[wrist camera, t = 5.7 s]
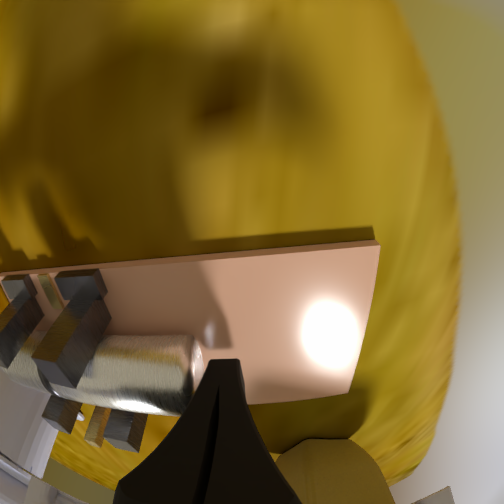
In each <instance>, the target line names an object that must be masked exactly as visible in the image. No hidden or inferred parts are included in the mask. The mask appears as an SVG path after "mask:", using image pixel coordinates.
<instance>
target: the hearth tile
mask: <svg viewBox="0 0 504 504" xmlns="http://www.w3.org/2000/svg"><path fill="white" fill-rule="evenodd" d="M379 253H380V244H379V243H378V242H377V241H376V240H365V241H353V242H341V243H329V244H318V245H306V246H294V247H283V248H271V249H259V250H248V251H236V252H225V253H213V254H202V255H191V256H179V257H168V258H157V259H145V260H134V261H123V262H112V263H100V264H89V265H78V266H67V267H56V268H45V269H34V270H23V271H12V272H2V273H1V274H0V284H1V286H2V288H3V290H4V292H5V294H6V296H7V298H8V300H9V302H10V303H11V301H12V300H13V299H9V297H8V295H7V293H6V291H5V289H4V286H3V284H2V282H1V280H2V279H3V278H4V277H5V276H7V275H17V274H29V275H30V277H31V280H32V282H33V284H34V286H35V288H36V290H37V292H38V294H37V295H36V296H35V298H36V300H37V302H38V304H39V306H40V307H41V309H42V311H43V313H44V315H45V316H44V317H43V318H42V320H41V321H40V322H39V324H38V325H37V326H36V328H35V329H34V330H39V331H48V330H49V329H50V328H51V326H52V325H53V323H54V322H55V320H56V319H57V318H58V316H59V315H60V314H61V312H62V311H63V309H64V308H65V307H66V305H67V304H68V303H69V301H70V300H64V299H63V297H62V295H61V293H60V291H59V289H58V286H57V284H56V282H55V280H54V277H55V276H56V275H57V274H58V273H59V272H60V271H68V270H81V269H94V268H99V270H100V273H101V275H102V278H103V280H104V283H105V285H106V288H107V290H108V293H107V294H106V296H105V297H104V299H103V300H104V302H105V304H106V306H107V309H108V311H109V313H110V315H111V317H112V319H111V321H110V322H109V324H108V326H107V328H106V330H105V332H104V333H103V335H189V334H191V335H193V336H194V337H195V339H196V340H197V342H198V345H199V347H200V350H201V354H202V359H203V365H204V372H205V370H206V367H207V365H208V362H209V360H211V359H233V358H237V359H239V360H240V363H241V368H242V373H243V378H244V382H245V394H246V401H247V404H264V403H278V402H288V401H298V400H306V399H313V398H320V397H327V396H333V395H339V394H344V393H348V391H349V388H350V385H351V382H352V378H353V375H354V372H355V368H356V365H357V361H358V357H359V354H360V350H361V346H362V342H363V338H364V334H365V330H366V325H367V321H368V316H369V311H370V307H371V302H372V296H373V291H374V285H375V279H376V273H377V267H378V260H379ZM42 273H49V275H50V277H51V279H52V282H53V284H54V286H55V288H56V290H57V292H58V294H59V297H60V299H61V301H62V303H63V305H64V308H63V309H53V308H52V306H51V304H50V302H49V300H48V298H47V296H46V294H45V292H44V290H43V288H42V286H41V284H40V281H39V279H38V277H37V275H38V274H42Z"/></svg>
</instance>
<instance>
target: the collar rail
mask: <svg viewBox="0 0 504 504" xmlns="http://www.w3.org/2000/svg"><path fill="white" fill-rule="evenodd" d="M37 277H38V279H39V281H40V284H41V286H42V288H43V290H44V292H45V294H46V296H47V298H48V300H49V302H50V304H51V306H52V308H53V309H63V308H64V305H63V303H62V301H61V299H60V297H59V294H58V292H57V290H56V288H55V286H54V284H53V282H52V279H51V277H50V275H49V273H42V274H38V275H37ZM54 280H55V282H56V284H57V286H58V289H59V291H60V293H61V295H62V297H63V299H64V300H70V301H69V303H68V304H67V305H66V307H65V308H64V309H63V311H62V312H61V314H60V315H59V316H58V318H57V319H56V320H55V322H54V323H53V325H52V326H51V328H50V329H49V330H48V332H47V333H46V335H45V336H44V338H43V339H42V341H41V342H40V344H39V345H38V347H37V348H36V350H35V351H34V353H33V354H32V356H31V358H32V360H33V361H34V362H35V364H36V365H37V366H38V368H39V369H40V370H41V372H42V373H43V374H44V375H45V377H46V378H47V379H48V380H49V382H50V383H53V384H57V385H61V386H65V387H69V388H73V389H76V387H77V385H78V383H79V381H80V379H81V377H82V375H83V373H84V371H85V368H86V366H87V364H88V362H89V360H90V358H91V356H92V354H93V352H94V351H95V349H96V347H97V345H98V343H99V341H100V339H101V337H102V335H103V333H104V332H105V330H106V328H107V326H108V324H109V322H110V321H111V319H112V317H111V315H110V313H109V311H108V309H107V306H106V304H105V302H104V300H103V299H104V297H105V296H106V294H107V293H108V290H107V288H106V285H105V283H104V280H103V278H102V275H101V273H100V270H99V268H94V269H81V270H68V271H60V272H59V273H58V274H57V275H56V276H55V277H54ZM1 282H2V284H3V286H4V289H5V291H6V293H7V295H8V297H9V299H13V300H12V301H11V303H10V304H9V305H8V306H7V307H6V308H5V309H4V311H3V312H2V313H1V314H0V366H1V367H4V368H6V369H8V368H9V366H10V364H11V363H12V361H13V360H14V358H15V357H16V355H17V354H18V352H19V351H20V349H21V348H22V346H23V345H24V343H25V342H26V340H27V339H28V337H29V336H30V335H31V333H32V332H33V330H34V329H35V328H36V326H37V325H38V324H39V322H40V321H41V320H42V318H43V317H44V316H45V315H44V313H43V311H42V309H41V307H40V306H39V304H38V302H37V300H36V298H35V296H36V295H37V294H38V292H37V290H36V288H35V286H34V284H33V282H32V280H31V277H30V275H29V274H17V275H7V276H5V277H4V278H3V279H2V280H1ZM82 404H83V403H82V402H77V401H73V400H69V399H64V398H60V397H57V396H54V395H51V396H50V398H49V400H48V402H47V405H46V407H45V409H44V411H43V413H42V416H41V417H42V418H43V419H45V420H46V421H47V422H48V423H49V424H50V425H51V426H52V427H53V428H54V429H57V430H59V431H62V432H65V433H68V434H71V432H72V429H73V426H74V424H75V421H76V419H77V416H78V413H79V411H80V408H81V406H82ZM147 417H148V414H147V413H138V412H131V411H124V410H118V409H112V408H106V407H101V406H96V407H95V409H94V412H93V415H92V417H91V420H90V423H89V426H88V429H87V431H86V434H85V437H84V440H85V441H87V442H88V443H89V444H90V445H93V446H96V447H100V448H101V446H102V443H103V440H104V438H105V439H106V440H107V441H108V442H109V443H111V444H112V445H113V446H114V447H115V448H119V449H123V450H128V451H132V452H137V453H139V450H140V446H141V441H142V437H143V433H144V429H145V425H146V421H147Z"/></svg>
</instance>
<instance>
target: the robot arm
mask: <svg viewBox="0 0 504 504" xmlns="http://www.w3.org/2000/svg"><path fill="white" fill-rule="evenodd" d="M50 396H51V394H48V393H44V392H41V391H38V390H35V389H32V388H29V387H26V386H23V385H21V384H18V383H15V382H13V381H12V380H11V379H10V378H9V377H8V376H7V375H6V374H5V372H4V370H3V368H2V367H1V366H0V504H88V503H86V502H83V501H81V500H79V499H76V498H74V497H73V496H71V495H68V494H66V493H64V492H62V491H60V490H58V489H57V488H55V487H53V486H50V485H49V484H47V483H46V482H43V481H42V480H40V479H42V477H43V474H44V470H45V467H46V464H47V461H48V458H49V455H50V452H51V450H52V447H53V444H54V441H55V439H56V436H57V433H58V431H59V430H57V429H54V428H53V427H52V426H51V425H50V424H49V423H48V422H47V421H46V420H45V419H43V418H42V417H41V416H42V413H43V411H44V409H45V407H46V405H47V402H48V400H49V398H50ZM77 420H81V421H83V420H84V416H83V415H82V414H81V413H80V412H79V413H78V416H77ZM22 468H23V469H25V470H26V471H28V472H30V473H31V474H33V475H35V476H36V477H35V476H33V475H30V474H28V473H27V472H25V471H24V470H23V469H22ZM37 477H38V478H40V479H38V478H37ZM113 504H302V502H301V501H300V499H299V498H298V496H297V494H296V493H295V491H294V490H293V489H292V487H291V486H290V485H289V483H288V482H287V480H286V479H285V478H284V476H283V475H282V473H281V472H280V470H279V469H278V467H277V465H276V464H275V462H274V460H273V459H272V457H271V455H270V453H269V452H268V450H267V448H266V446H265V444H264V442H263V440H262V438H261V436H260V434H259V432H258V430H257V428H256V425H255V423H254V421H253V418H252V415H251V413H250V410H249V407H248V404H247V401H246V394H245V382H244V378H243V373H242V368H241V363H240V360H239V359H237V358H233V359H211V360H209V362H208V365H207V367H206V370H205V372H204V374H203V377H202V379H201V381H200V383H199V385H198V387H197V389H196V391H195V393H194V395H193V396H192V398H191V400H190V402H189V404H188V405H187V407H186V409H185V410H184V412H183V413H182V415H181V417H180V418H179V420H178V421H177V423H176V424H175V425H174V427H173V428H172V429H171V431H170V432H169V433H168V435H167V436H166V437H165V438H164V439H163V441H162V442H161V443H160V444H159V445H158V446H157V448H156V449H155V450H154V451H153V452H152V453H151V454H150V455H149V456H148V457H147V458H146V459H145V460H144V461H143V462H141V463H140V464H139V465H138V466H137V467H136V468H135V469H133V470H132V471H131V472H130V473H128V474H127V475H126V476H124V477H123V478H122V479H121V480H119V482H118V485H117V487H116V490H115V495H114V500H113ZM412 504H454V500H453V496H452V492H451V489H450V486H447V487H446V488H444V489H442V490H440V491H438V492H436V493H433V494H431V495H429V496H427V497H425V498H423V499H421V500H418V501H416V502H414V503H412Z"/></svg>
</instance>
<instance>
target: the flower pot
mask: <svg viewBox="0 0 504 504" xmlns="http://www.w3.org/2000/svg"><path fill="white" fill-rule="evenodd" d="M275 464H276V465H277V467H278V469H279V470H280V472H281V473H282V475H283V476H284V478H285V479H286V480H287V482H288V483H289V485H290V486H291V487H292V489H293V490H294V491H295V493H296V494H297V496H298V498H299V499H300V501H301V502H302V504H395V502H394V500H393V497H392V495H391V492H390V490H389V487H388V485H387V483H386V481H385V478H384V476H383V474H382V472H381V470H380V468H379V466H378V465H377V463H376V462H375V461H374V459H373V458H372V457H371V456H370V455H369V454H368V453H367V452H366V451H365V450H364V449H363V448H361V447H360V446H359V445H357V444H356V443H354V442H353V441H352V440H350V439H335V440H328V439H307V440H304V441H302V442H301V443H299V444H298V445H296V446H295V447H293V448H292V449H290V450H289V451H287V452H285V453H283V454H282V455H280V456H279V457H278V459H277V460H276V462H275Z"/></svg>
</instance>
